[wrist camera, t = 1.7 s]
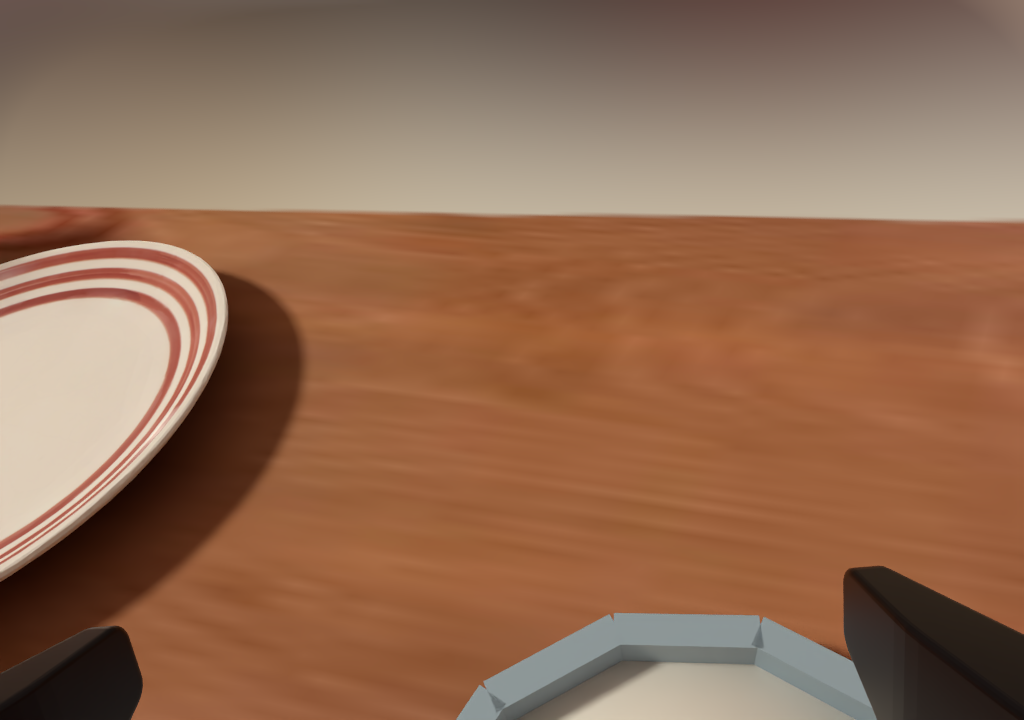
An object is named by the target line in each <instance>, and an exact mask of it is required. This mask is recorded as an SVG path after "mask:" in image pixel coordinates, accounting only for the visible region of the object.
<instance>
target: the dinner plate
mask: <svg viewBox="0 0 1024 720" xmlns="http://www.w3.org/2000/svg"><path fill="white" fill-rule="evenodd" d="M227 325H228V303H227V298H226V292H225V289H224V287H223V284H222V282H221V280H220V279H219V277H218V275H217V274H216V272H215V271H214V270H213V269H212V268H211V266H210V265H209V264H207V263H206V262H205V261H203V260H202V259H201V258H200V257H198V256H196V255H194V254H192V253H191V252H188V251H186V250H184V249H181V248H178V247H175V246H171V245H167V244H162V243H156V242H147V241H107V242H98V243H89V244H82V245H76V246H70V247H64V248H59V249H54V250H50V251H46V252H42V253H38V254H34V255H30V256H26V257H23V258H19V259H16V260H12V261H9V262H6V263H3V264H0V582H1V581H2V580H4V579H6V578H7V577H9V576H11V575H12V574H14V573H15V572H17V571H18V570H20V569H21V568H23V567H24V566H25V565H27V564H28V563H30V562H31V561H33V560H34V559H36V558H37V557H39V556H40V555H42V554H43V553H45V552H46V551H48V550H49V549H50V548H52V547H53V546H55V545H56V544H57V543H59V542H60V541H61V540H63V539H64V538H65V537H67V536H68V535H69V534H70V533H72V532H73V531H74V530H76V529H77V528H78V527H79V526H81V525H82V524H83V523H84V522H86V521H87V520H88V519H89V518H90V517H92V516H93V515H94V514H95V513H96V512H98V511H99V510H100V509H101V508H102V507H103V506H105V505H106V504H107V503H108V502H109V501H111V500H112V499H113V498H114V497H115V496H116V495H117V494H118V493H119V492H120V491H121V490H122V489H123V488H125V487H126V486H127V485H128V484H129V483H130V482H131V481H132V480H133V479H134V478H135V477H136V476H137V475H138V474H139V473H140V472H141V471H142V470H143V468H144V467H145V466H146V465H147V464H148V463H149V462H150V461H151V460H152V459H153V458H154V457H155V456H156V454H157V453H158V452H159V451H160V450H161V449H162V448H163V446H164V445H165V444H166V443H167V442H168V440H169V439H170V438H171V437H172V435H173V434H174V433H175V431H176V430H177V429H178V427H179V426H180V425H181V423H182V422H183V421H184V419H185V418H186V416H187V415H188V414H189V412H190V411H191V409H192V408H193V406H194V405H195V403H196V401H197V400H198V398H199V397H200V395H201V393H202V392H203V390H204V388H205V387H206V385H207V383H208V381H209V379H210V377H211V375H212V373H213V371H214V369H215V366H216V364H217V361H218V359H219V357H220V354H221V351H222V348H223V344H224V341H225V336H226V332H227Z"/></svg>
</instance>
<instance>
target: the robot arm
mask: <svg viewBox="0 0 1024 720" xmlns="http://www.w3.org/2000/svg"><path fill="white" fill-rule="evenodd" d="M843 596H844V635H845V640H846V644H847V648H848V651H849V653H850V656H851V658H852V661H853V663H854V665H855V668H856V670H857V673H858V675H859V677H860V680H861V682H862V685H863V687H864V690H865V692H866V694H867V697H868V699H869V702H870V704H871V707H872V709H873V711H874V714H875V716H876V719H877V720H1024V634H1022V633H1020V632H1018V631H1015V630H1013V629H1011V628H1009V627H1007V626H1005V625H1003V624H1001V623H999V622H997V621H995V620H993V619H991V618H989V617H987V616H985V615H983V614H981V613H979V612H977V611H975V610H973V609H970V608H968V607H966V606H964V605H962V604H960V603H958V602H956V601H954V600H952V599H950V598H948V597H946V596H944V595H942V594H940V593H938V592H936V591H934V590H932V589H930V588H928V587H926V586H923V585H921V584H919V583H917V582H915V581H913V580H911V579H909V578H907V577H905V576H903V575H901V574H899V573H897V572H895V571H893V570H891V569H889V568H886V567H884V566H870V567H858V568H850V569H848V570H847V571H846V573H845V575H844V581H843ZM142 687H143V681H142V675H141V672H140V669H139V666H138V663H137V660H136V657H135V654H134V651H133V648H132V645H131V642H130V639H129V636H128V634H127V632H126V631H125V630H124V629H123V628H122V627H119V626H106V627H93V628H88V629H86V630H83V631H81V632H80V633H78V634H76V635H74V636H72V637H70V638H68V639H66V640H64V641H62V642H60V643H58V644H56V645H54V646H52V647H51V648H49V649H47V650H45V651H43V652H41V653H39V654H37V655H35V656H33V657H31V658H29V659H27V660H25V661H23V662H22V663H20V664H18V665H16V666H14V667H12V668H10V669H8V670H6V671H4V672H2V673H0V720H131V718H132V715H133V713H134V711H135V709H136V707H137V705H138V702H139V700H140V697H141V694H142Z"/></svg>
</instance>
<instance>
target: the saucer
mask: <svg viewBox="0 0 1024 720" xmlns="http://www.w3.org/2000/svg"><path fill="white" fill-rule="evenodd" d="M484 684H485V686H486V689H487V690H486V689H485V688H483V687H482V686H480V685H479V687H478V688H477V690H476V691H475V693H474V694H473V696H472V697H471V699H470V700H469V701H468V703H467V704H466V706H465V707H464V709H463V710H462V712H461V713H460V715H459V716H458V718H457V719H456V720H877V719H876V716H875V714H874V711H873V709H872V707H871V704H870V702H869V699H868V697H867V694H866V692H865V690H864V687H863V685H862V682H861V680H860V677H859V675H858V673H857V670H856V668H855V665H854V663H853V661H851V660H849V659H847V658H845V657H843V656H841V655H839V654H837V653H835V652H833V651H831V650H829V649H827V648H825V647H823V646H821V645H819V644H817V643H815V642H813V641H811V640H809V639H807V638H805V637H803V636H801V635H799V634H797V633H795V632H793V631H791V630H789V629H787V628H785V627H783V626H781V625H779V624H777V623H775V622H773V621H771V620H769V619H767V618H765V617H764V618H763V620H762V622H761V625H760V619H759V616H755V615H697V614H638V613H614V621H613V619H612V618H611V616H610V615H607V616H605V617H603V618H601V619H599V620H597V621H596V622H594V623H592V624H590V625H588V626H586V627H584V628H583V629H581V630H579V631H577V632H575V633H573V634H571V635H569V636H568V637H566V638H564V639H562V640H560V641H558V642H556V643H555V644H553V645H551V646H549V647H547V648H545V649H543V650H541V651H540V652H538V653H536V654H534V655H532V656H530V657H528V658H527V659H525V660H523V661H521V662H519V663H517V664H515V665H513V666H512V667H510V668H508V669H506V670H504V671H502V672H500V673H499V674H497V675H495V676H493V677H491V678H489V679H487V680H485V681H484Z"/></svg>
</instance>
